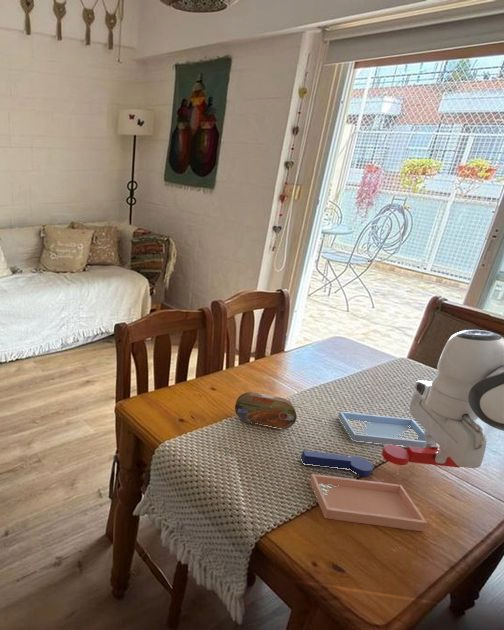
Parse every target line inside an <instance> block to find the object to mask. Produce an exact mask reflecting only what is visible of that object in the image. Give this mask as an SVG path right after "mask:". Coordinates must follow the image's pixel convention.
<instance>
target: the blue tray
mask: <svg viewBox="0 0 504 630" xmlns="http://www.w3.org/2000/svg"><path fill="white" fill-rule="evenodd" d="M338 417H339V418H340V420H341V422H342V423H343V425H344V426H345V428H346V430H347V431H346V430H345V428H344V427H343V425H342V423H341V422H340V420H339V419H338ZM338 417H337V420H338V422H339V423H340V424H341V426H342V428H343V430H344V431H345V433H346V434H347V436H348V438H349V439H350V442H352V443H355V444H356V443H357V444H366V445H375V446H383V447H384V446H385V445H383V444H392V445H403V446H407V447H402V448H404V449H407V448H408V446H410V447H419V448H424V446H425V443H426V441H425V430H423V428H422V427H420V426H421V425H420V424H418V423H417V421H415V420H414V418H408V417H398V416H397V417H396V416H388V415H387V416H386V415H378V414H377V415H376V414H368V413H359V412H350V411H349V412H348V411H339V413H338ZM347 419H353V420H358V421H359V420H360V421H363V422H364V421H367V422H368V423H369V422H370V423H371V424H372V425H371V424H370V423H369V424H368V423H367V422H366V423H367V424H366V425H367V426H368V427H367V426H366V427H367V429H366V428H365V426H364V428H363V429H364V430H363V431H364V432H363V433H364V434H365V435H364V434H356V433H355V431H356V430H355V431H354V430H353V428H352V427H351V425H350V424H349V422H348V420H347ZM364 423H365V422H364ZM407 425H408V426H409V425H410V426H411V427H410V426H409V427H410V428H409V427H408V426H407ZM408 429H413V430H414V431H415V432H416V433H417V434H418V436H419V437H420V438H419V437H418V439H417V440H411V439H401V437H400V435H401V434H402V432H403V431H405V430H408ZM357 430H358V429H357ZM399 431H400V432H399ZM401 431H402V432H401ZM347 432H348V433H349V435H350V436H351V438H352V439H353V440H356V441H364V442H356V441H352V440H351V438H350V436H349V435H348V433H347ZM358 432H359V431H358ZM366 432H367V434H368V435H367V434H366ZM408 433H409V432H408ZM408 433H407V434H408ZM397 434H398V435H399V434H400V435H399V437H400V438H399V437H398V435H397ZM403 434H404V433H403ZM403 434H402V435H403ZM405 434H406V433H405ZM405 434H404V435H405ZM402 435H401V436H402ZM393 437H394V438H393ZM395 437H396V438H395ZM397 437H398V438H397ZM402 438H403V437H402ZM365 442H372V443H365ZM374 443H382V444H374ZM399 447H401V446H399Z"/></svg>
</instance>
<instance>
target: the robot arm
mask: <svg viewBox="0 0 504 630" xmlns="http://www.w3.org/2000/svg"><path fill="white" fill-rule="evenodd" d="M439 356H440V357H439V359H438V362H437V367H436V368H437V369H436V370H437V371H436V375H435V377H434V378H433V379H432V380H416V381H415V383H414V389H415V390H414V391H413V393H412V396H411V399H410V403H409V413H410V415H411V416H412V417H413V419H415V420H416V422H418V423H419V424H418V425H419V426H421V428H422V429H424V432H425V441H426V443H425V446H424V448H429V449H439V450H440V451H439V452H434V454H433V459H434V460H435V461H436V462H437V463H445V461H446V459H447V457H450V458H451V459H452V460H453V461H454V462H455V463H456V465H457V466H459V467H460V468H466V469H477V468H480V467H481V465H482V463H483V459H484V457H485V454H486V453H485V452H486V449H487V448H486V447H487V437H486V435H485V433H484V432H483V427H482V426H481V425H480V424H478V423H477V422H476V420H478V419H479V420H480V421H482V422H483V423H484V424H486V425H487V426H489V427H491V428H494V429H495V430H496V429H497V430H499V431H503V432H504V336H502V335H500V334H498V333H495V332H492V331H487V330H480V329H468V330H467V329H465V330H461V331H459V332H456V333H454V334H452V335H451V336H450V337H449V339H448V340H447V341H446V343H445V345H444V347H443V349H442V352H441V354H440V355H439Z"/></svg>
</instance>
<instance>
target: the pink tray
mask: <svg viewBox="0 0 504 630" xmlns="http://www.w3.org/2000/svg"><path fill="white" fill-rule="evenodd" d="M310 482H311V483H310ZM318 483H324V484H332V485H334V486H337V487H334V486H331V487H332V488H330V489H328V490H329V491H327V492H329V493H326V494H328V495H323V493H322V491H321V488H320V486H319V484H318ZM311 484H312V485H311ZM309 485H310V487H311V490H312V491H313V494H314V497H315V499H316V501H317V503H318V506H319V509H320V510H321V513H322V515H323V517H324V519H328V520H335V521H342V522H343V521H344V522H351V523H357V524H365V525H371V526H379V527H388V528H393V529H402V530H408V531H417V532H425V530H426V528H427V525H428V522H427V520H426V519H425V517H424V516H423V514H422V513H421V511H420V510H419V508H418V507H417V506H416V504H415V503H414V501H413V500H412V498H411V497H410V495H409V494H408V493H407V491H406V490H405V488H404V487H403V485H402V484H396V483H390V482H389V483H387V482H381V481H372V480H365V479H356V478H348V477H341V476H340V477H339V476H332V475H323V474H315V473H311V475H310V479H309ZM338 485H339V486H338ZM312 486H313V488H312ZM313 489H314V490H313ZM332 489H333V490H332ZM314 491H315V493H316V495H315V493H314ZM316 496H317V497H316ZM317 498H318V500H317Z"/></svg>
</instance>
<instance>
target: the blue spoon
mask: <svg viewBox="0 0 504 630" xmlns="http://www.w3.org/2000/svg"><path fill="white" fill-rule="evenodd" d="M301 459H302V461H303V463H305V464H313V465H320V466H329V467H338V468H347V469H349V468H350V469H351V470H352V471H354V472H356V473H357V474H355V473H353V472H352V471H351V470H345V469H337V468H329V467H320V466H312V465H304V464H303V463H302V461H301ZM300 462H301V465H302V466H306V467H312V468H313V467H314V468H322V469H330V470H338V471H346V472H350V473H352V474H353V475H355V476H358V477H362V478H369V477H371V476H372V473H373V470H374V465H373V464H372V462H371V461H369V460H368V459H366V458H364V457H362V456H358V455H351V456H349V455H346V454H336V453H331V452H330V453H328V452H321V451H311V450H304V449H303V450H302V452H301V456H300ZM358 474H359V475H358Z"/></svg>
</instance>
